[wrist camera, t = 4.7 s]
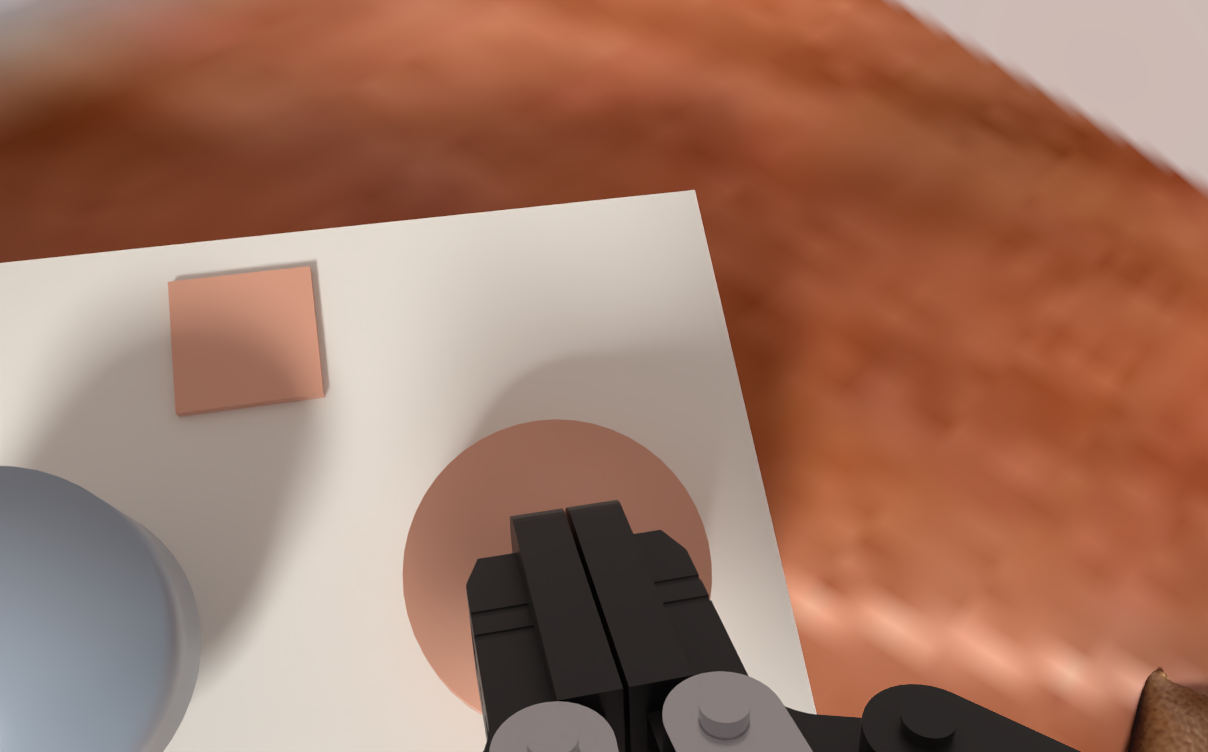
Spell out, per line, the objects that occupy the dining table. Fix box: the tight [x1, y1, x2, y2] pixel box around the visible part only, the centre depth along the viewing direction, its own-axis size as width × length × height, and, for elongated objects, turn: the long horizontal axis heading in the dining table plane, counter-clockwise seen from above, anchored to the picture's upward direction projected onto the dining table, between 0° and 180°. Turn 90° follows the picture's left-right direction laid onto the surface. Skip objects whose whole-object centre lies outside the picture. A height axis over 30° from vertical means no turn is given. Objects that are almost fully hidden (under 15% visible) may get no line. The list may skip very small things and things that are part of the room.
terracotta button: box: [402, 419, 712, 715], centre depth 16 cm, size 5×5×2 cm
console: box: [0, 190, 817, 752], centre depth 20 cm, size 23×10×8 cm, turn 100°
